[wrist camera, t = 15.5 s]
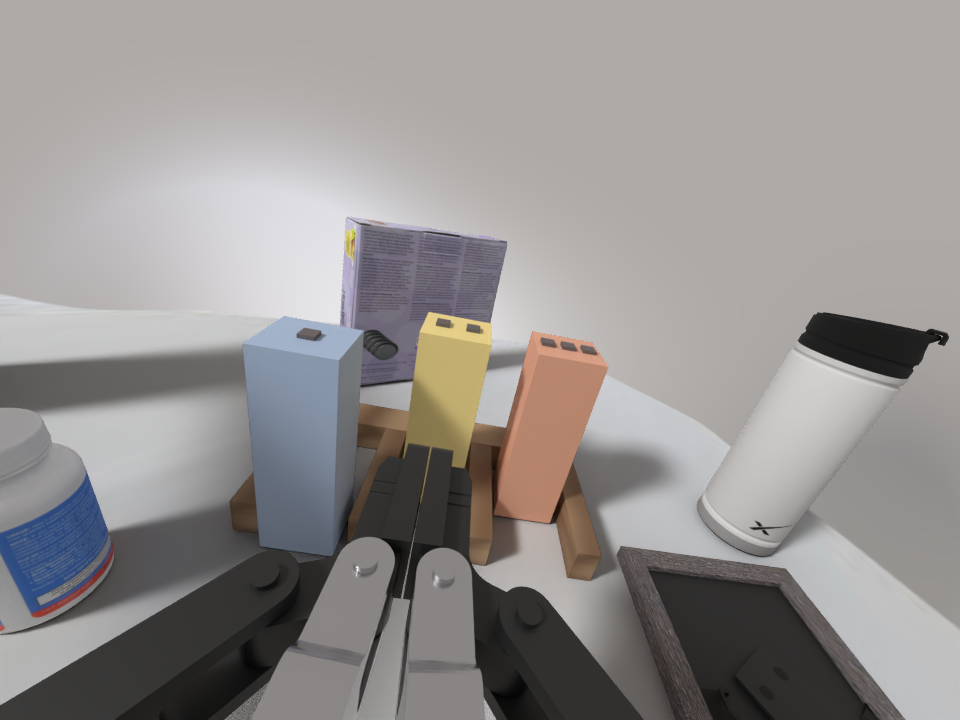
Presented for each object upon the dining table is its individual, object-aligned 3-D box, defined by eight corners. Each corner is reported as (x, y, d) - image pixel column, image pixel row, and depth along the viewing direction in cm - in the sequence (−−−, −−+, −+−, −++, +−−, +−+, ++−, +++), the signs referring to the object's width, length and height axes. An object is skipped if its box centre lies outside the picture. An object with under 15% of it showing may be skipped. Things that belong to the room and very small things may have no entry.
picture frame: (1136, 1070, 13) (775, 581, 30) (1191, 1064, 12) (788, 565, 29) (790, 1060, 12) (614, 560, 29) (825, 1053, 11) (623, 541, 28)
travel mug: (765, 574, 29) (952, 337, 21) (683, 512, 33) (813, 297, 26) (787, 543, 33) (952, 333, 25) (711, 491, 37) (831, 299, 29)
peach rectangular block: (493, 514, 29) (540, 350, 23) (492, 476, 33) (532, 327, 27) (549, 523, 30) (609, 363, 24) (542, 484, 33) (592, 338, 27)
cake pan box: (470, 355, 56) (494, 232, 48) (488, 371, 52) (518, 241, 45) (335, 369, 45) (340, 213, 37) (347, 390, 41) (355, 223, 34)
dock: (233, 529, 24) (229, 500, 23) (315, 417, 36) (315, 395, 35) (589, 580, 26) (601, 556, 25) (558, 458, 37) (565, 438, 36)
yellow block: (397, 499, 29) (420, 328, 23) (408, 462, 33) (429, 307, 27) (455, 508, 29) (492, 341, 23) (459, 470, 33) (491, 319, 27)
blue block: (260, 546, 24) (242, 338, 18) (291, 495, 27) (286, 310, 21) (332, 556, 24) (339, 355, 18) (353, 504, 28) (365, 325, 22)
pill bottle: (123, 526, 23) (83, 391, 19) (106, 607, 19) (50, 459, 15) (-14, 558, 20) (-97, 407, 16) (-68, 662, 16) (-195, 497, 12)
